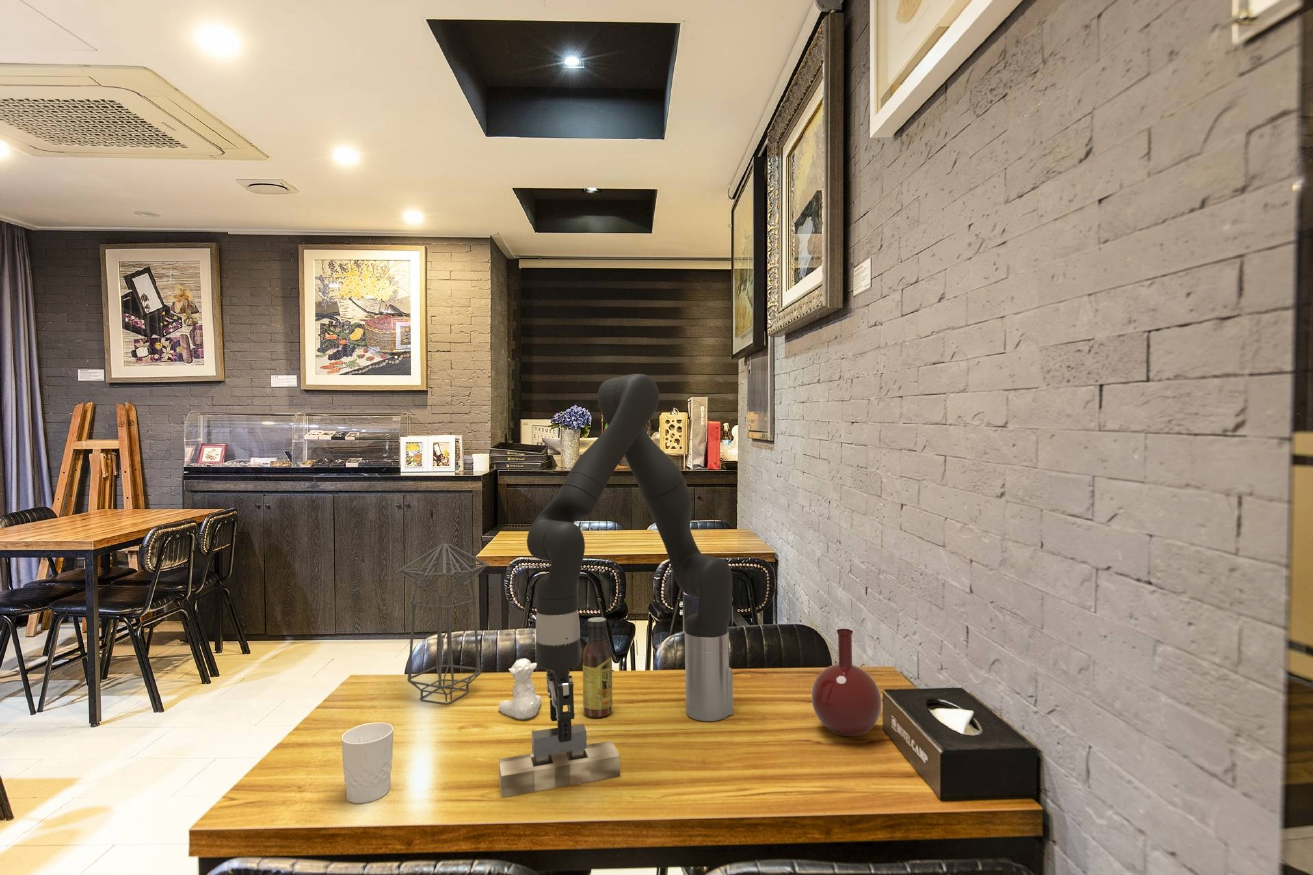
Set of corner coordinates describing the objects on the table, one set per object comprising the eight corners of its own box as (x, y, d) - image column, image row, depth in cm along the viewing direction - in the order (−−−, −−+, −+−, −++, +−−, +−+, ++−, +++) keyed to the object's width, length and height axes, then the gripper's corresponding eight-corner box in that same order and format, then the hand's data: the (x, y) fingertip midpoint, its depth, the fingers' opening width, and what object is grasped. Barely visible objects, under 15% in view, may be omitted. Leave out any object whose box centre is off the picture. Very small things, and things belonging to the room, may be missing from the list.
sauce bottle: (607, 720, 133) (606, 624, 133) (579, 718, 134) (577, 623, 134) (616, 707, 139) (614, 615, 140) (588, 705, 141) (587, 614, 141)
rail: (612, 759, 116) (611, 740, 116) (620, 776, 111) (620, 755, 111) (499, 779, 110) (498, 758, 110) (501, 797, 104) (501, 775, 105)
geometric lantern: (393, 703, 143) (393, 547, 145) (442, 681, 158) (441, 538, 159) (449, 713, 137) (448, 549, 139) (495, 688, 152) (493, 540, 153)
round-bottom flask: (815, 715, 134) (813, 619, 134) (882, 723, 129) (880, 624, 130) (808, 743, 121) (806, 637, 122) (882, 753, 117) (880, 644, 117)
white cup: (353, 781, 110) (352, 723, 110) (400, 778, 111) (399, 720, 111) (334, 807, 102) (333, 744, 103) (384, 804, 103) (384, 742, 103)
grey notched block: (583, 769, 113) (583, 723, 113) (587, 777, 110) (586, 730, 110) (532, 777, 111) (531, 731, 111) (534, 786, 108) (533, 738, 108)
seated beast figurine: (540, 702, 143) (539, 648, 143) (551, 716, 135) (550, 659, 135) (497, 710, 139) (497, 655, 139) (506, 726, 131) (505, 667, 131)
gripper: (587, 645, 105) (590, 744, 105) (572, 622, 118) (574, 710, 118) (541, 651, 103) (544, 752, 103) (531, 627, 116) (533, 716, 116)
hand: (560, 729), depth 111 cm, fingers open, 8 cm apart
